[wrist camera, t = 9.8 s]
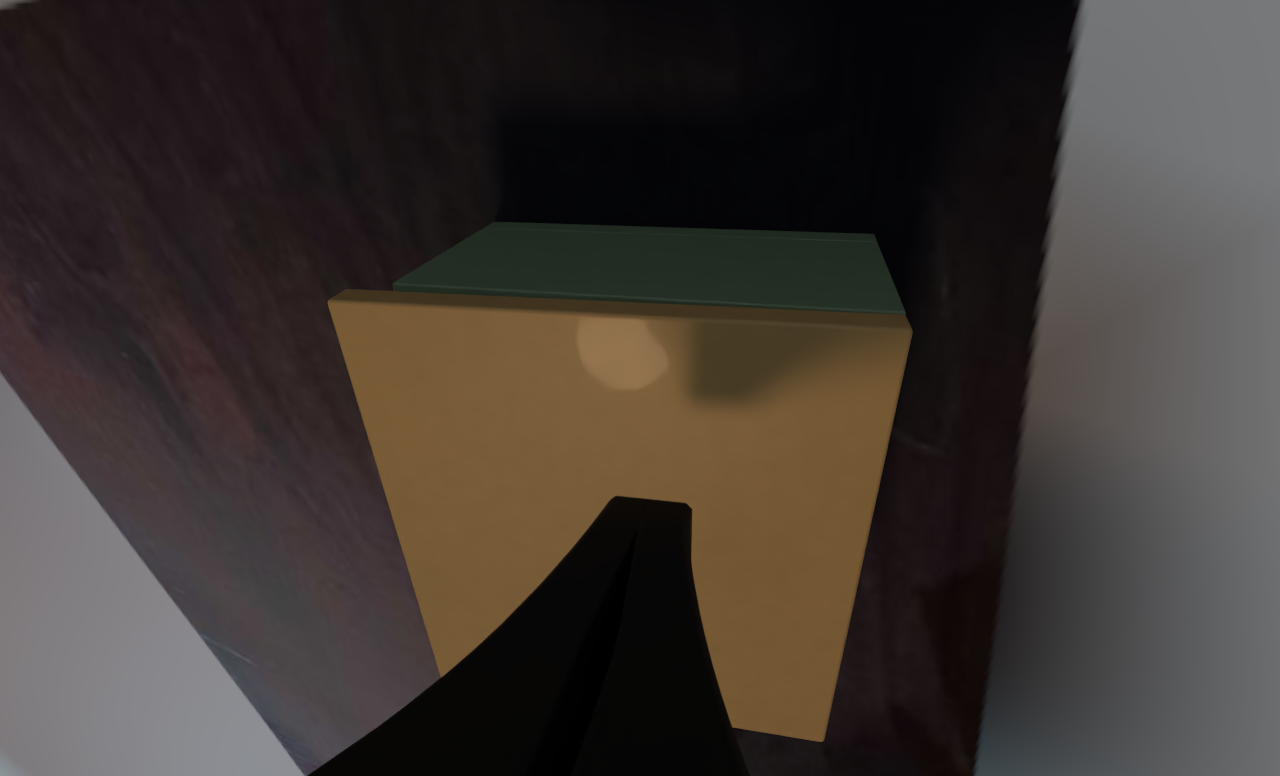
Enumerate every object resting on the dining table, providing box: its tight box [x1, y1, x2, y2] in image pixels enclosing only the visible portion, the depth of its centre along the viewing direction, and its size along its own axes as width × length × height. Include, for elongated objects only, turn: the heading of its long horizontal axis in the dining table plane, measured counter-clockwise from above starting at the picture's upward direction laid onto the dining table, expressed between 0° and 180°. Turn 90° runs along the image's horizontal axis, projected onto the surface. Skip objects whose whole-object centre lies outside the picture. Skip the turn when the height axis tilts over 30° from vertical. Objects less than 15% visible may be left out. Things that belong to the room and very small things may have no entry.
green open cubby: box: [393, 222, 906, 316], centre depth 19 cm, size 12×14×6 cm
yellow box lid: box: [328, 289, 913, 742], centre depth 16 cm, size 12×14×1 cm
